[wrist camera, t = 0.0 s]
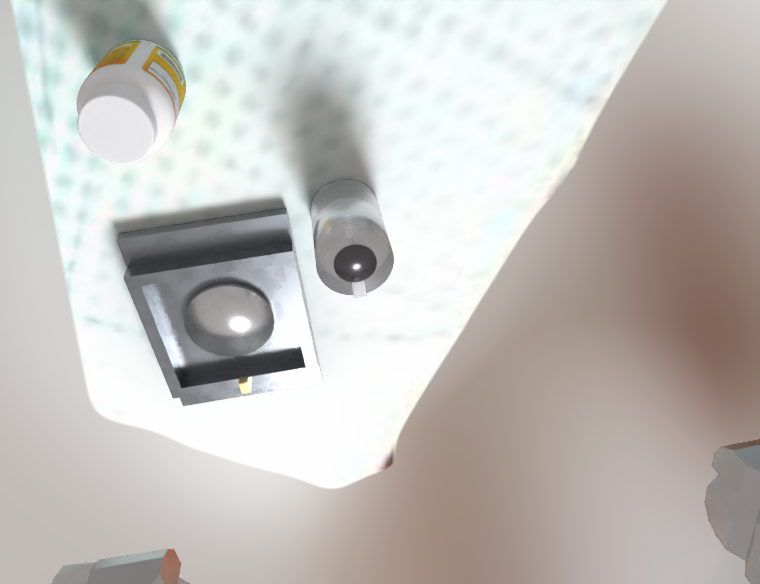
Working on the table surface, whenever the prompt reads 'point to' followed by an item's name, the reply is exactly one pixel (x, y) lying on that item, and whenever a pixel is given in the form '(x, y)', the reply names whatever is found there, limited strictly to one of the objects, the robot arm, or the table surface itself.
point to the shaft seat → (223, 305)
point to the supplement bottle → (130, 102)
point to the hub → (350, 238)
